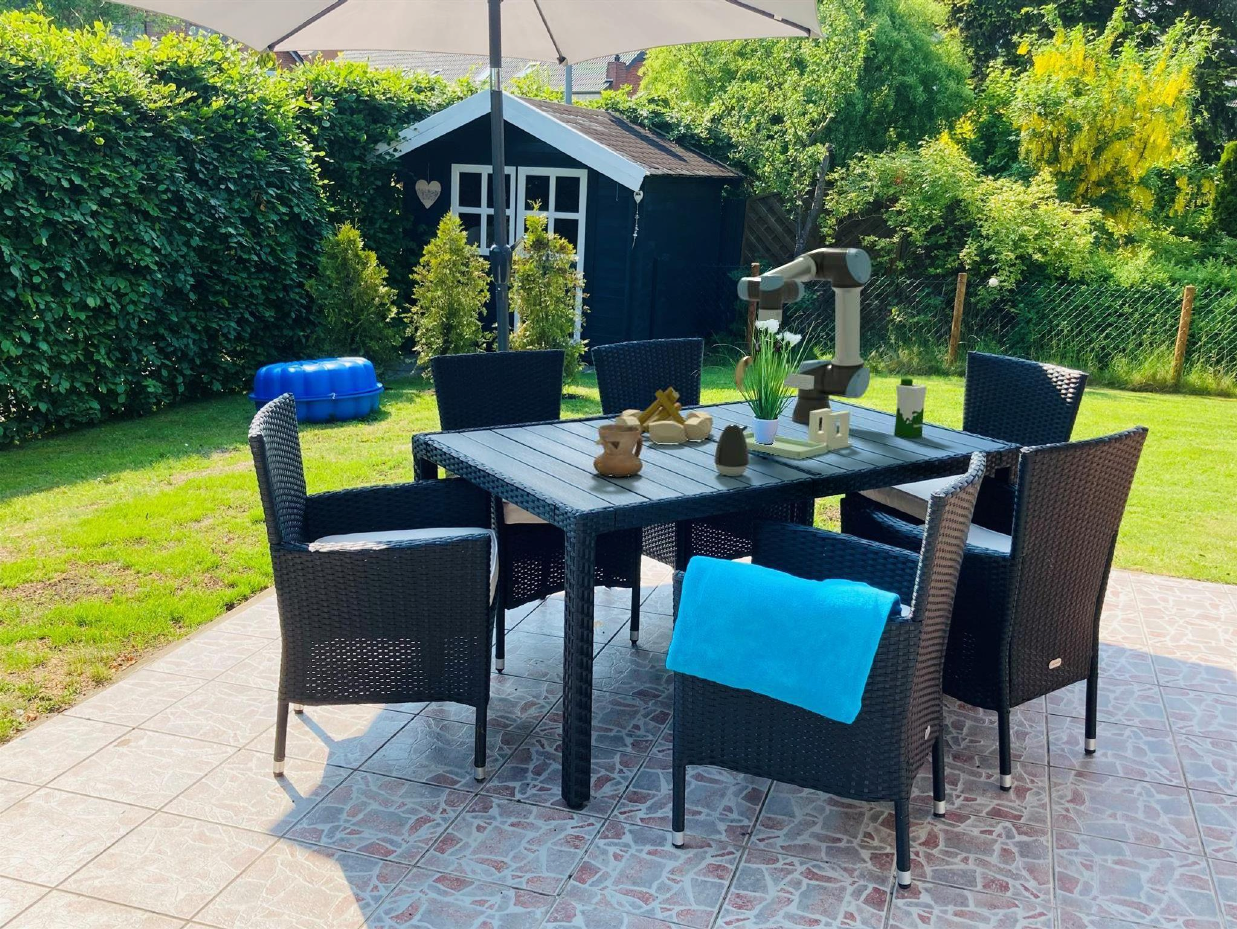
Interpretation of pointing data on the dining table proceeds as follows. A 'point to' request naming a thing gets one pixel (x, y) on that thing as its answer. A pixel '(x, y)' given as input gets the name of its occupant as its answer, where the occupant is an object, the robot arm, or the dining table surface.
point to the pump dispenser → (732, 451)
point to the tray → (787, 447)
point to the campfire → (668, 420)
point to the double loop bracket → (829, 428)
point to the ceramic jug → (619, 450)
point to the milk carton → (909, 409)
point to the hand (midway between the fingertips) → (766, 393)
